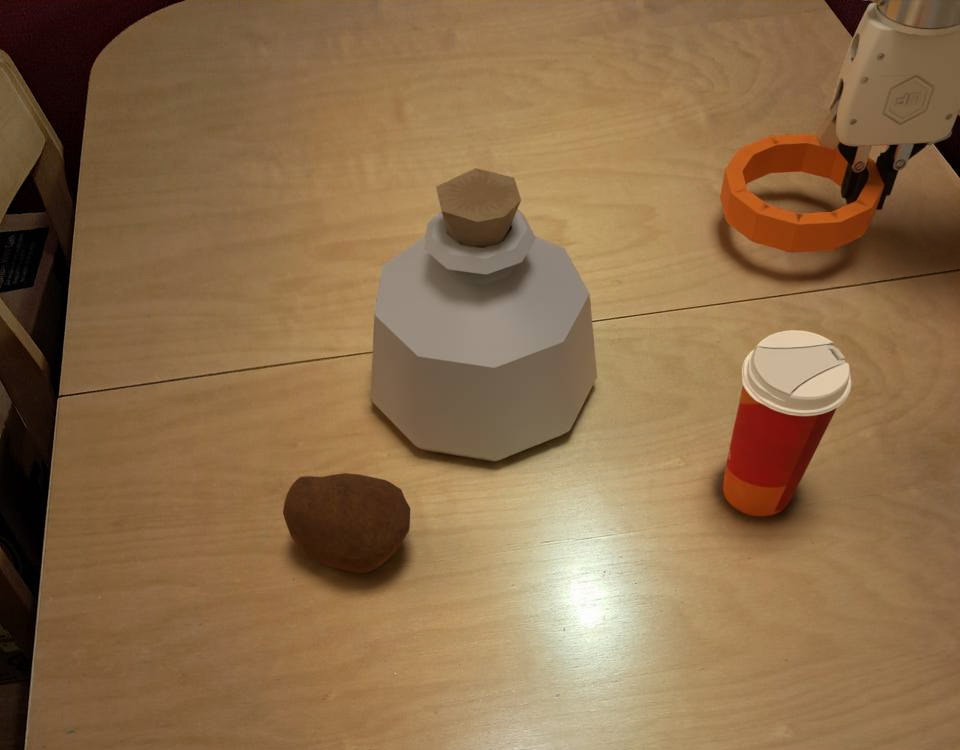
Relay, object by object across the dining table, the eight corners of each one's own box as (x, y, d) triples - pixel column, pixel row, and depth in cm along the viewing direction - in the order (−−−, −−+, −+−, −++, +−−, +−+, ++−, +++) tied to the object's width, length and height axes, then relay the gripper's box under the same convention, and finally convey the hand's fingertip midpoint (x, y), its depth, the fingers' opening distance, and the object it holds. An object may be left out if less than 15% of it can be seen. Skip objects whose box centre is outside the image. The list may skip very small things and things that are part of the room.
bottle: (596, 474, 81) (620, 288, 65) (363, 468, 82) (330, 282, 66) (594, 313, 92) (615, 118, 76) (387, 308, 93) (364, 114, 77)
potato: (299, 513, 80) (281, 447, 73) (418, 517, 80) (411, 451, 73) (286, 587, 76) (265, 525, 69) (410, 591, 76) (402, 529, 69)
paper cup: (776, 447, 83) (823, 314, 71) (820, 514, 79) (877, 386, 67) (692, 470, 82) (725, 339, 70) (732, 539, 78) (775, 414, 66)
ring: (853, 159, 98) (862, 130, 95) (888, 248, 90) (898, 218, 88) (712, 167, 98) (716, 138, 96) (734, 255, 91) (740, 227, 88)
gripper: (839, 22, 77) (787, 230, 92) (1041, 11, 76) (955, 221, 92) (820, -23, 81) (773, 183, 96) (1011, -34, 80) (933, 175, 96)
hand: (862, 200), depth 94 cm, fingers closed on ring
